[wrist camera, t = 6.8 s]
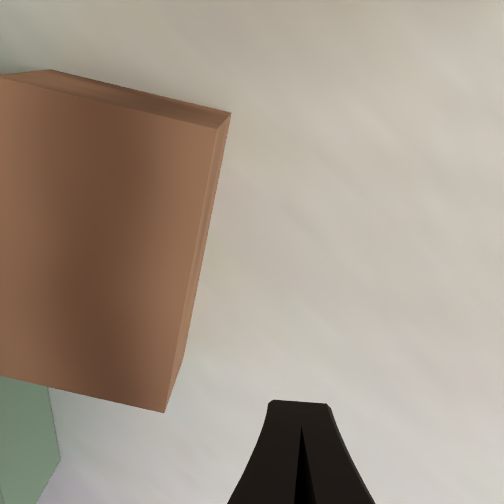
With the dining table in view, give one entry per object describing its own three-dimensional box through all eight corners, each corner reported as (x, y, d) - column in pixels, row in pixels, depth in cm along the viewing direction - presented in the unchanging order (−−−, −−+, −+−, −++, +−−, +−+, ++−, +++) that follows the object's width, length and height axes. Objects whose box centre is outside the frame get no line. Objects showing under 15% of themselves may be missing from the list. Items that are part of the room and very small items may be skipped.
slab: (43, 320, 20) (-5, 374, 17) (54, 68, 16) (-7, 75, 12) (184, 353, 20) (164, 413, 17) (232, 111, 16) (217, 129, 13)
